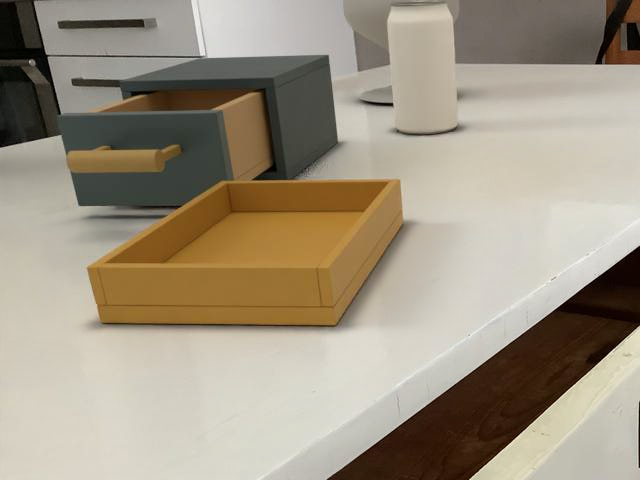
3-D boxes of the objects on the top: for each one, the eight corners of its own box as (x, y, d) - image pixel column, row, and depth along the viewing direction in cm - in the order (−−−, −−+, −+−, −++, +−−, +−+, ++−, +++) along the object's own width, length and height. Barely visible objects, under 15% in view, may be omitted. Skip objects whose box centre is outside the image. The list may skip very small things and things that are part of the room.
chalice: (338, 96, 109) (325, -31, 103) (438, 86, 115) (431, -36, 108) (372, 111, 98) (360, -31, 91) (481, 99, 103) (477, -37, 96)
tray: (100, 323, 42) (85, 267, 41) (229, 223, 58) (221, 180, 57) (336, 326, 41) (328, 267, 40) (403, 223, 56) (400, 178, 55)
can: (446, 120, 90) (439, -1, 85) (467, 130, 85) (461, 1, 80) (388, 127, 88) (377, 3, 83) (405, 137, 83) (395, 5, 78)
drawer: (206, 223, 55) (188, 124, 52) (43, 224, 56) (17, 127, 54) (295, 159, 72) (285, 81, 69) (168, 160, 73) (153, 85, 70)
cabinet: (287, 182, 68) (273, 77, 65) (140, 183, 70) (118, 81, 66) (338, 142, 82) (328, 54, 79) (214, 144, 84) (199, 58, 80)
